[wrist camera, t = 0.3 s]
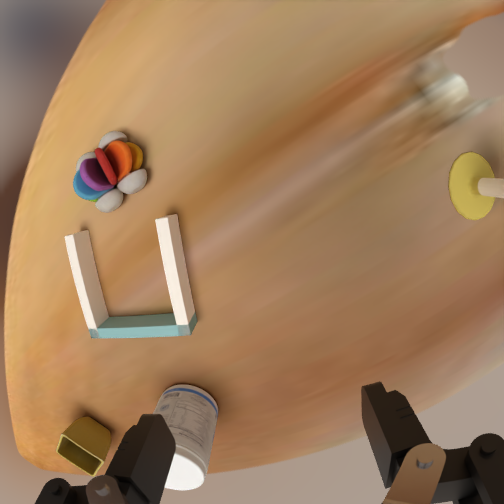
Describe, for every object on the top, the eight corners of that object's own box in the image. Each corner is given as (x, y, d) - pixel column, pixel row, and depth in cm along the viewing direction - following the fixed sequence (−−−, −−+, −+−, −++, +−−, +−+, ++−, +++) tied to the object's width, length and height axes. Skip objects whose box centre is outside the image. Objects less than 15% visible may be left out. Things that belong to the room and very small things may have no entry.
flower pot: (82, 404, 46) (61, 433, 37) (121, 430, 46) (104, 462, 38) (74, 425, 47) (55, 452, 38) (109, 448, 48) (93, 477, 39)
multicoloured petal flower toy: (161, 176, 36) (139, 175, 29) (106, 219, 38) (78, 226, 31) (130, 125, 35) (104, 115, 28) (79, 169, 37) (48, 168, 29)
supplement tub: (206, 432, 45) (191, 498, 31) (154, 409, 44) (126, 472, 30) (229, 396, 43) (217, 469, 29) (171, 371, 42) (140, 438, 28)
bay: (80, 231, 38) (64, 236, 34) (177, 213, 37) (167, 217, 33) (103, 326, 41) (91, 338, 37) (197, 321, 40) (190, 335, 36)
